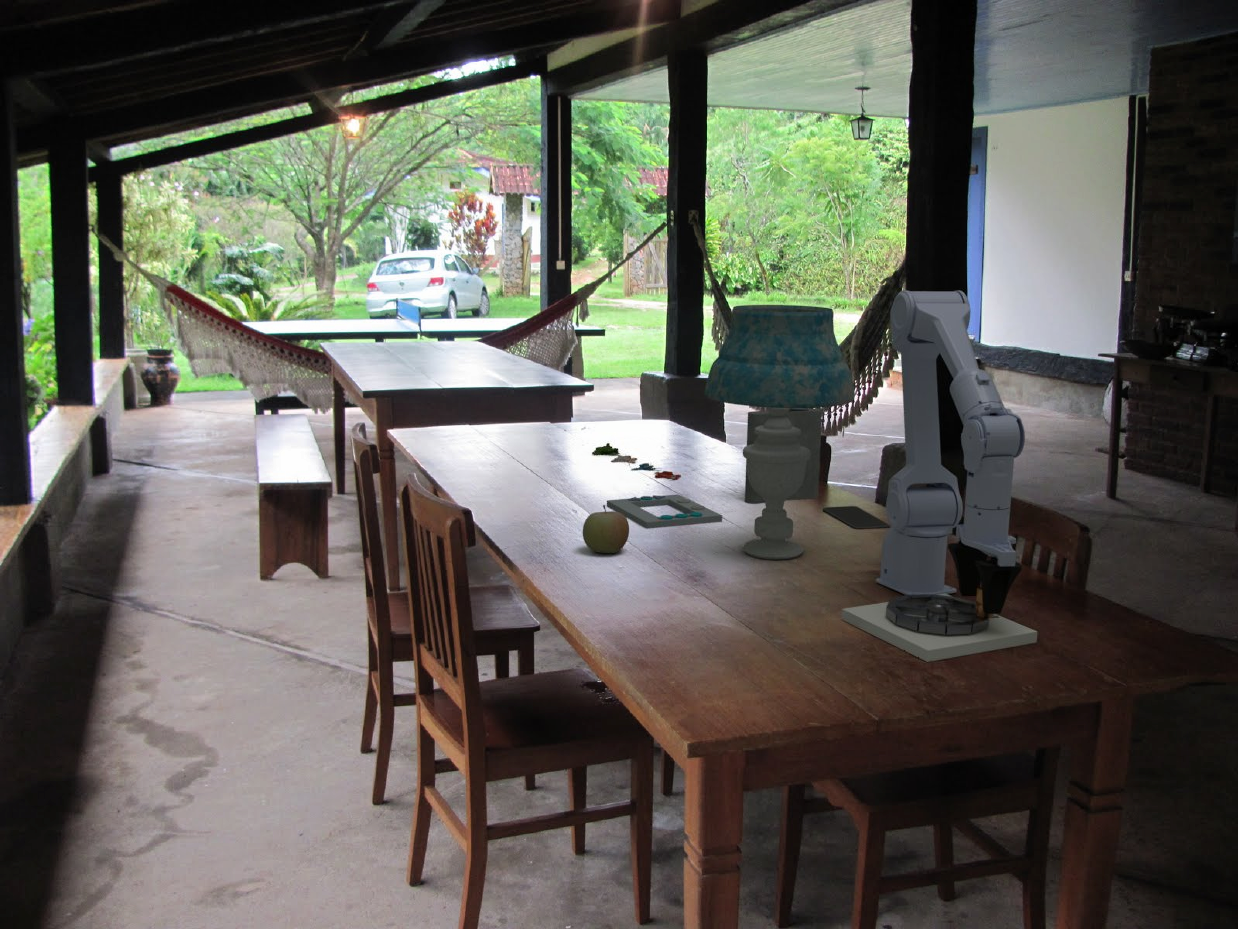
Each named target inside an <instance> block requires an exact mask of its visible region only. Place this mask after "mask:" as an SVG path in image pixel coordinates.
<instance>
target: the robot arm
mask: <svg viewBox="0 0 1238 929" xmlns="http://www.w3.org/2000/svg"><path fill="white" fill-rule="evenodd" d="M971 310H972V309H971V305H970V301H969V299H968V297H967V295H966V294H965V292H963V291H962V290H954V291H941V290H940V291H926V290H923V291H918V290H917V291H916V290H915V291H913V290H912V291H910V290H908V289H907V290H900V291H899V292H898V293H897V295H896V296H895V298H894V300H893V303H892V306H891V309H890V334H891V335H890V336H891V341H892V343H891V344H892V346H891V347H892V349H894V351H897V352H899V353H900V361H901V363H900V366H901V382H902V401H903V402H902V404H903V423H904V427H903V429H904V442H905V443H904V444H905V465H904V466H903V468H901V469H900V470H899V471H897V473H895V474H894V475H893V476H891V477H890V479H889V480H888V483H887V484H888V486H887V488H888V489H887V490H888V492H887V497H886V503H885V509H886V510H885V511H886V518H887V520H888V524H889V525H890V528H888V529H887V531H886V532H885V534H884V536H883V539H882V543H881V561H880V577H877V578H876V579H875V582H876V583H878V584H879V585H882V586H885V587H887V588H889V589H890V590H891V589H892V590H894V591H897V592H898V593H901V594H903V595H918V594H930V595H931V594H934V595H939V594H948V595H950V594H955V593H957V588H955V587H952V586H949V585H948V584H945V577H946V576H945V574H946V561H947V549H948V551H949V552H950V555H951V557H952V560H953V562H954V566H955V567H954V568H955V570H956V577H957V582H958V583H957V584H958V588H959V592H960V593H959V594H960V596H961V597H962V598H963V597H977V588H978V587H982V604H983V610H984V613H985V614H996V615H1001V613H1002V611H1003V608H1004V605H1005V603H1006V600H1007V597H1008V594H1009V592H1010V589H1011V587H1012V585H1013V584H1014V581H1015V580H1016V579H1017V577H1018V576H1019V574H1020V573H1021V572H1022V570H1023V565H1022V564H1021V563H1018V562H1016V558H1017V551H1016V550H1014V548H1013V547H1012V544H1013V545H1014V544H1016V543H1017V538H1016V537H1014V536H1012V535H1009V526H1010V515H1011V514H1010V513H1011V504H1012V502H1011V501H1012V489H1013V477H1014V466H1015V465H1014V463H1015V459H1017V458H1018V457H1019V456H1020V455H1021V454H1022V453H1023V451H1024V447H1025V443H1026V431H1025V427H1024V424H1023V420H1022V418H1021V417H1020V416H1019V415H1018V414H1016V413H1014V412H1013V411H1012V409H1011V408H1006V407H1005V405H1004V403H1003V399H1002V398H1001V396H1000V393H999V391H998V389H997V387H996V384H995V382H994V379H993V377H992V375H991V374H990V373H989V372H988V371H986V370H984V369H980V367H979V364H978V361H977V357H976V355H975V352H974V349H973V348H974V347H973V346H972V342H971V339H970V336H969V332H968V329H969V326H970V320H971V313H972V312H971ZM939 355H940V356H941V358H942V359H943V361H944V363H945V365H946V367H947V369H948V371H949V373H950V375H951V377H952V378H953V380H951V381H952V382H951V384H950V385H949V392H950V393H949V394H950V396H951V398H952V400H953V403H954V405H955V408H956V410H957V412H958V415H959V417H960V420H961V423H962V425H963V429H962V433H960V435H961V436H960V441H961V448H962V450H963V466H964V469H965V470H966V471H967V474H966V487H965V488H966V489H965V503H964V505H963V499H962V497H961V494H960V490H959V484H958V477H957V476H956V475H954V474H953V473H952V472H950V471H949V470H948V469H947V468H946V467H944V466H943V465H942V456H941V437H940V435H941V434H940V417H939V416H940V415H939V397H938V396H939V394H938V379H937V378H938V376H937V359H938V356H939ZM911 485H934V486H928V487H927V486H925V487H924V486H923V487H911ZM963 506H964V507H963ZM963 508H964V517H963V524H959V523H960V521H961V519H962V516H963ZM891 526H892V527H891ZM955 528H956V531H955V539H957V540H958V541H957V542H953V543H951V542H950V543H948V535H950V534H951V535H953V529H955ZM988 557H989V560H987V559H988Z"/></svg>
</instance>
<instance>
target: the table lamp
mask: <svg viewBox="0 0 1238 929" xmlns="http://www.w3.org/2000/svg"><path fill="white" fill-rule="evenodd" d="M834 313H835V312H834V311H833V308H829V307H823V306H812V305H794V304H793V305H791V304H746V305H745V304H744V305H735V306H733V307H732V310H731V319H730V320H731V321H730V328H729V332H728V334H727V336H726V338H725V341H724V343H723V344H722V346H721V348H720V350H719V352H718V357H716V359H715V360H714V361H713V362H712V364H711V367H710V369H709V372H708V377H707V379H706V380H707V381H706V385H705V387H704V388H705V389H704V395H705V396H706V397H707V398H708V399H710V400H713V401H715V402H720V403H725V404H731V405H737V406H747V407H759V408H767V410H768V411H769V414H770V416H769V417H768V419H767V420H766V422H765V423H764V425H763V426H758V427H756V428H755V430H754V432H755V434H757V435H758V437H757V439H756V440H755V441H754V444H752V445H748V446H747V445H745V446H744V447H743V449H742V456H743V457H744V458H745V460H746V461H745V466H746V465H747V476H748V479H749V482H750V484H751V486H752V488H753V489H754V490H755V492H756V493H758V494H759V495H760V496H761V497H762V498H763V500H765V508H763V509H762V510H761V516H758V517H756V518H755V519H754V523H753V524H754V525H753V526H754V527H753V532H754V534H755V536H756V537H758V539H752V540H749V541H746V542H745V543H744V545H743V546H742V550H743V551H744V552H745V554H747V555H748V556H751V557H754V558H759V559H764V560H777V561H778V560H781V561H782V560H790V559H795V558H798V557H799V556H801V555H802V554H803V552H804V549H803V548H802V546H801V545H800V544H799V543H797V542H794V541H791V540H787V539H790V538H791V537H793V533H794V520H793V519H792V518H789V517H787V514H788V513H787V510H786V509H784V505H785V502H786V501H788V500H787V498H789V497H790V496H792V495H793V494H794V493H796V492H797V490H798V489H799V488H800V486H801V485H802V482H803V480H804V476H805V470H806V464H807V461H808V460H809V459H810V457H811V451H810V450H809V449H808V448H805V447H803V446H800V442H799V441H798V439H797V436H799V435H800V434H801V430H800V429H799V428H796V427H792V425H791V423H790V421H789V419H788V417H787V414H788V412H789V409H790V408H807V409H819V408H828V407H829V408H831V407H838V406H845V405H847V404H850V403H852V402H853V401H854V400H855V396H856V395H855V386H854V381H853V376H852V373H851V372H852V371H851V370H850V368H849V366H848V364H847V362H845V360H844V355H843V352H842V350H841V349H840V348H841V347H840V345H839V344H838V341H837V338H836V334H835V329H834V328H835V326H834V316H835V315H834Z"/></svg>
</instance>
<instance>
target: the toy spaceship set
mask: <svg viewBox="0 0 1238 929" xmlns="http://www.w3.org/2000/svg"><path fill="white" fill-rule="evenodd" d="M591 455H594V456H607V455H618V456H617V457H615V458H614V459H612V460H611V461H610V462H611V463H628V462H631V463H632V462H636V461H637V460H638V457H632V455H621V453H620V452H619V448H617V447H613V445H612V446H611V445H610V442H607V443H606V445H603V446H597V447H595V450H593V451H592V452H591ZM638 466H639V467H634V468H631V469H630V471H649V470H656V467H655V465H652V464H650V463H649V462H645V463H641V464H639V465H638ZM659 469H663V468H662V467H661V468H659ZM654 474H656V475H654V478H655V479H668V480H669V479H671V480H678V479H679V478H681V477H682V475H681V474H674V473H673V471H667V470H663V471H661V472H660V471H655V472H654Z"/></svg>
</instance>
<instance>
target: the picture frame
mask: <svg viewBox="0 0 1238 929" xmlns="http://www.w3.org/2000/svg"><path fill="white" fill-rule="evenodd" d="M663 506H664V507H665V506H668V507H671V508H672V509H675V510H676V511H678V512H680V513H676V514H674V515H672V514H662V515H660V516H656V515H654V514H652V513H651V512H649V511H647V510H645V509H643V508H652V507H663ZM606 507H607V508H609V509H611V510H613V511H615V512H619V513H622V514H623V515H624V516H625V517H626V518H627V520H628V519H629V520H630V521H632V522H634V523H636V524H638V525H639V526H641V527H643V528H644V529H648V530H651V529H658V528H669V527H670V528H671V527H679V526H691V525H692V526H693V525H700V524H701V525H702V524H711V523H712V524H715V523H722V522H723V515H722V514H721V513H718V512H716V511H714V510H713V509H710V508H708V507H707V506H704V505H702V504H700V503H697V502H695V501H693V500H691V499H689V498H687V497H685V496H682V495H680V494H679V493H678V494H669V495H667V494H666V495H652V496H651V495H643V496H640V497H637V496H633V497H631V498H621V499H620V498H619V499H609V500H608V499H607V500H606Z"/></svg>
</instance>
